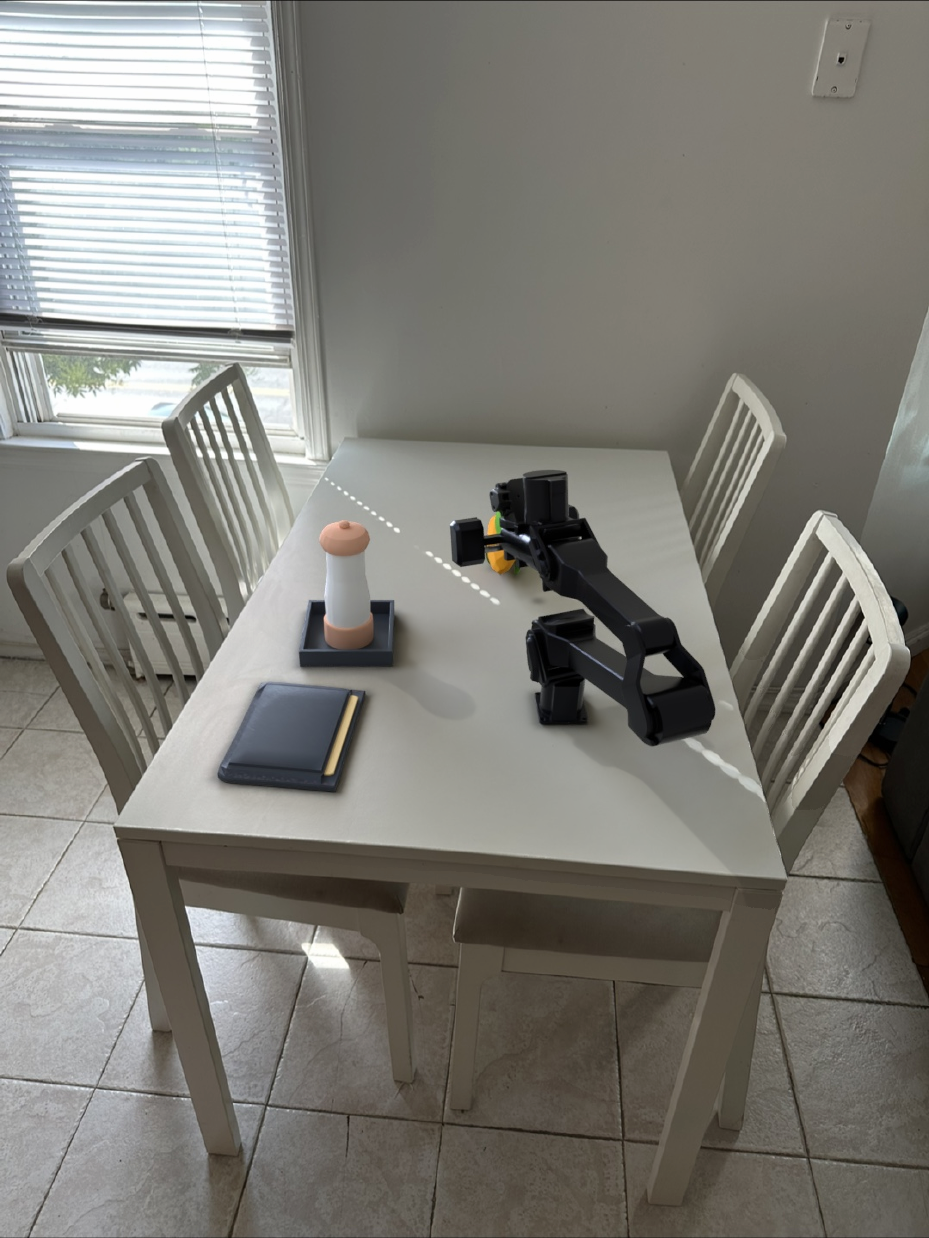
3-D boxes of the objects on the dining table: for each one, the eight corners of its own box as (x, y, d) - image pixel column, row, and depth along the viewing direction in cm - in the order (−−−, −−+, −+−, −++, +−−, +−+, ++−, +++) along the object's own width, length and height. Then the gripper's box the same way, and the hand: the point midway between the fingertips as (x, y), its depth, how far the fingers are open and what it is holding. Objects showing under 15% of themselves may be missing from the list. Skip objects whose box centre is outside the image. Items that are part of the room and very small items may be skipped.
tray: (392, 666, 133) (392, 651, 131) (299, 666, 132) (298, 651, 130) (394, 614, 145) (394, 599, 143) (309, 614, 144) (308, 599, 142)
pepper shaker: (316, 645, 136) (308, 528, 126) (336, 620, 142) (330, 506, 132) (362, 654, 134) (358, 536, 124) (380, 628, 140) (378, 514, 130)
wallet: (261, 673, 127) (370, 683, 126) (262, 684, 128) (370, 695, 127) (209, 769, 110) (333, 783, 109) (210, 781, 111) (334, 795, 110)
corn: (529, 497, 164) (525, 549, 147) (529, 535, 168) (526, 590, 151) (487, 497, 165) (479, 549, 148) (489, 535, 169) (481, 590, 152)
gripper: (599, 478, 123) (548, 462, 137) (469, 495, 117) (429, 476, 131) (600, 558, 127) (550, 535, 141) (473, 579, 121) (435, 552, 135)
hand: (493, 523), depth 137 cm, fingers open, 9 cm apart
